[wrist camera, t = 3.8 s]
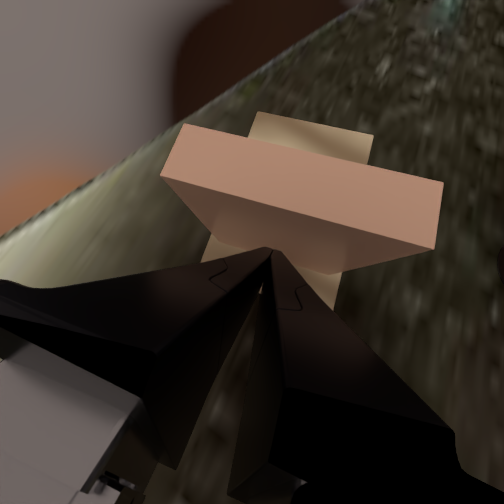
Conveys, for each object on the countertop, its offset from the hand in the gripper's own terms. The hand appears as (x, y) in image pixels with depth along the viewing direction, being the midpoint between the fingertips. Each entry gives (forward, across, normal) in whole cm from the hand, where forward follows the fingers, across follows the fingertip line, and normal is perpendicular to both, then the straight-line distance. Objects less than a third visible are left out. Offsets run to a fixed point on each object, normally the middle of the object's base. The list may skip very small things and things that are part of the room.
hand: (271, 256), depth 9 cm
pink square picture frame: (+7, 0, -3) cm, 8 cm away
